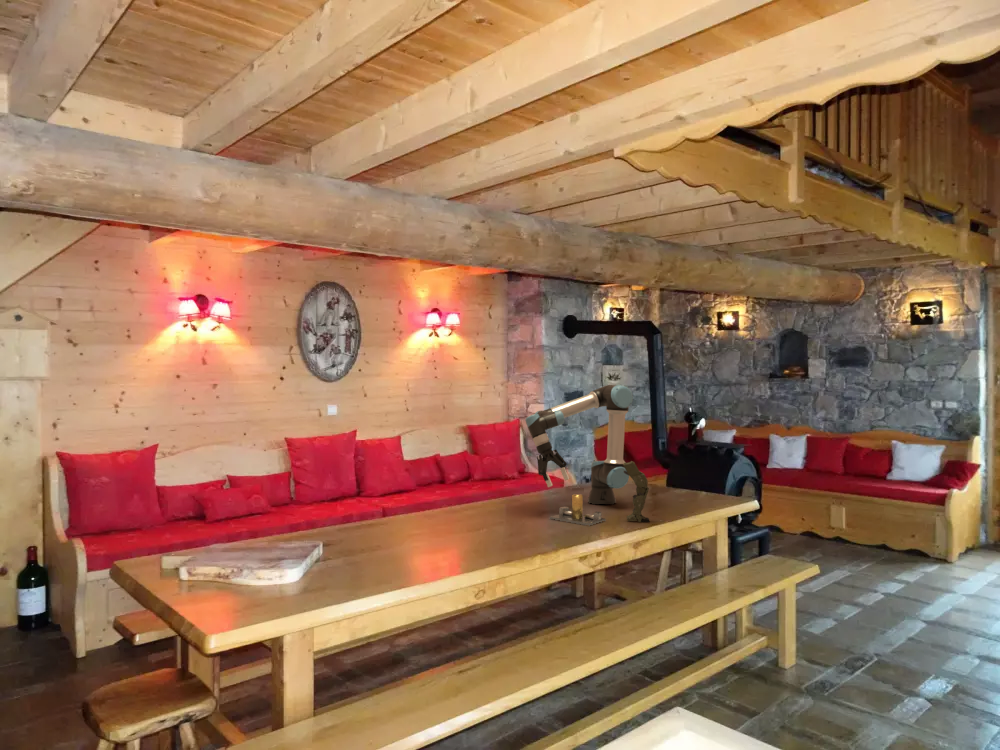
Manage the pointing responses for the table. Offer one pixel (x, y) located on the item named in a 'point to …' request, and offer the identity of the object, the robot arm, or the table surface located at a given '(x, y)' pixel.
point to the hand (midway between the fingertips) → (559, 483)
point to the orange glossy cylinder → (577, 506)
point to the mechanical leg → (641, 491)
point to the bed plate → (586, 520)
